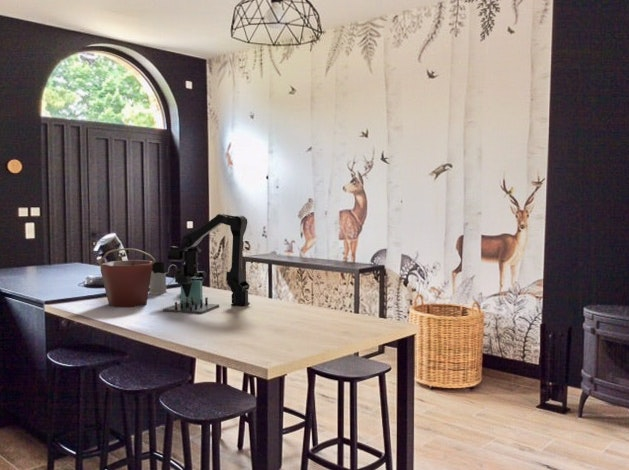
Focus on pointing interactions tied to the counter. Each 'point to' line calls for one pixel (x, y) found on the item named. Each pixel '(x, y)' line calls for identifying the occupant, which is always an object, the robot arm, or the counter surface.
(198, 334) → the counter surface
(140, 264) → the bucket
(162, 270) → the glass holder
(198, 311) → the dish rack
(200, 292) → the teal plate
